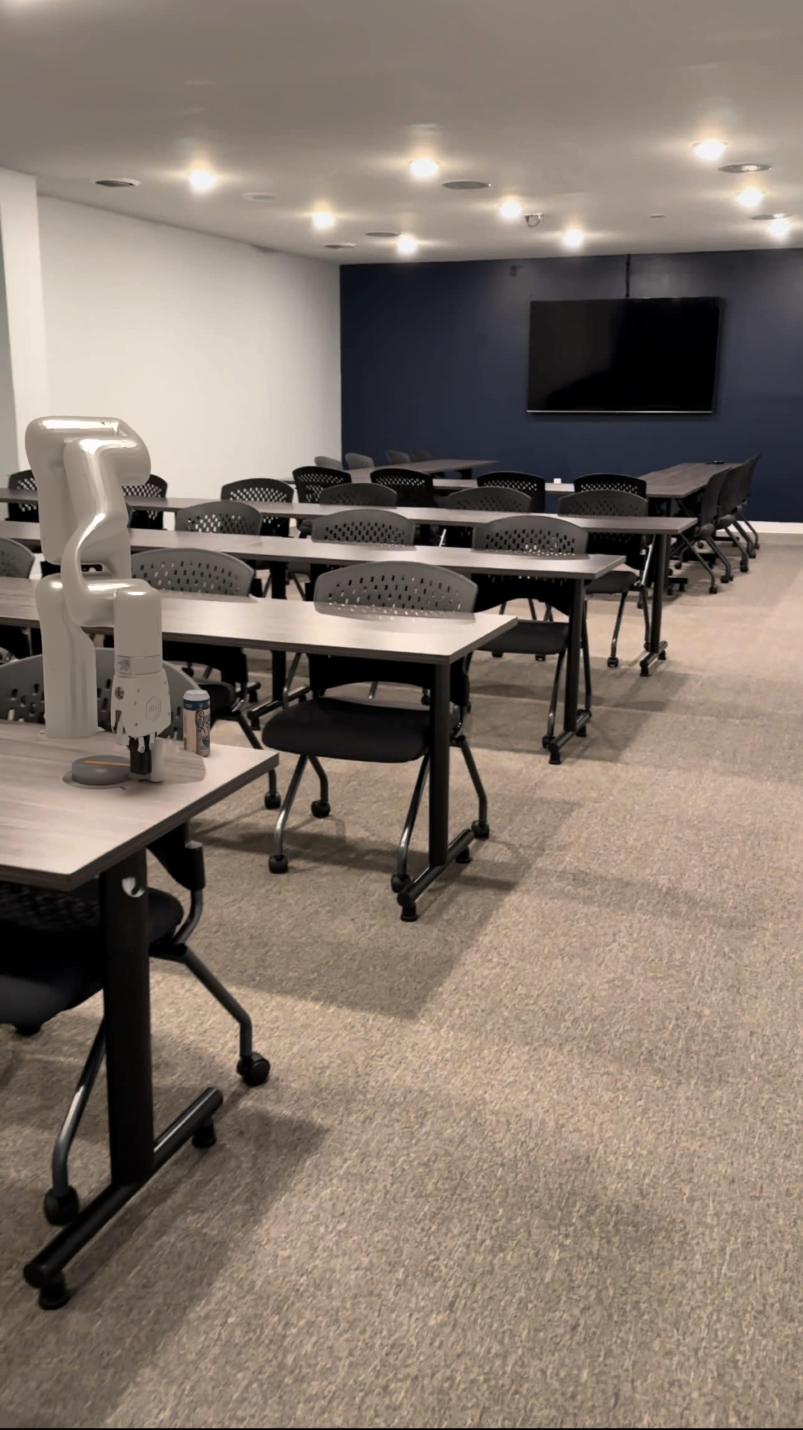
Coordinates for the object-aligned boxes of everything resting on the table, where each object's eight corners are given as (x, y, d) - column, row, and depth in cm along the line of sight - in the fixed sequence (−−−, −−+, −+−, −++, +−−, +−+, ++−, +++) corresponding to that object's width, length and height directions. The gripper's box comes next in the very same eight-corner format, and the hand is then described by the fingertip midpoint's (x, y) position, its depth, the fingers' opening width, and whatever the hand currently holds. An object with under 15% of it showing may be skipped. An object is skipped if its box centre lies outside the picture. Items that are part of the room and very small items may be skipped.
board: (37, 776, 209) (37, 769, 208) (127, 760, 219) (127, 753, 219) (91, 808, 194) (91, 800, 194) (185, 789, 205) (184, 781, 204)
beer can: (204, 760, 221) (204, 696, 218) (179, 757, 222) (179, 693, 219) (213, 752, 226) (213, 689, 223) (189, 750, 227) (188, 687, 224)
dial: (62, 781, 201) (60, 741, 199) (85, 764, 211) (84, 725, 209) (153, 789, 199) (152, 748, 197) (173, 771, 209) (172, 731, 207)
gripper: (126, 675, 187) (128, 788, 192) (186, 658, 200) (187, 765, 205) (88, 669, 191) (92, 780, 195) (150, 653, 203) (152, 758, 208)
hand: (141, 772), depth 200 cm, fingers closed
